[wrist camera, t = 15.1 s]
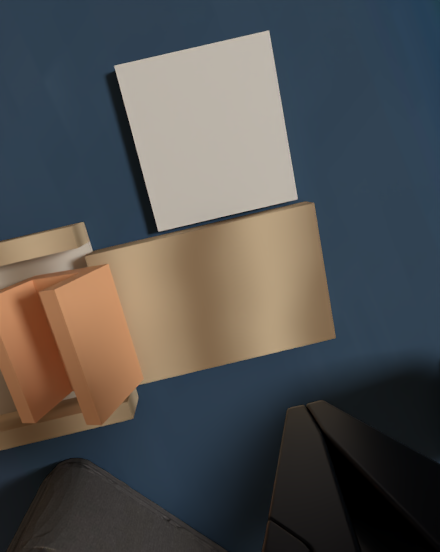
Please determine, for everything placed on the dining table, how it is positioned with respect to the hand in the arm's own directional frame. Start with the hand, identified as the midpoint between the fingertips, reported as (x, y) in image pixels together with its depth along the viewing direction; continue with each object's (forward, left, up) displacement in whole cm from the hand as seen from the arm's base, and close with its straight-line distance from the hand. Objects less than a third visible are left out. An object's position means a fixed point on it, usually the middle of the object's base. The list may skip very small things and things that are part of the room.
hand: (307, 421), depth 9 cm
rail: (+6, 0, -12) cm, 13 cm away
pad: (0, -7, -12) cm, 14 cm away
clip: (+8, 0, -11) cm, 14 cm away
